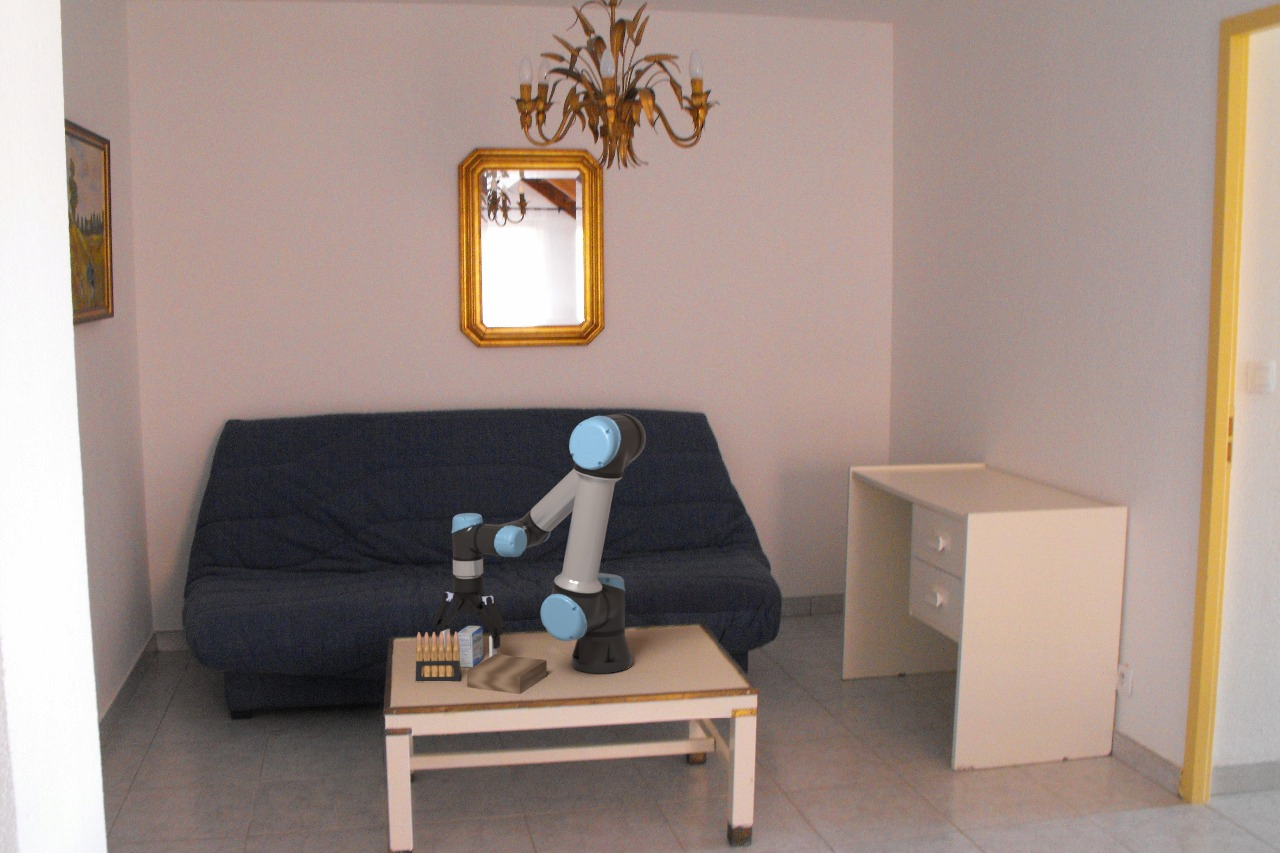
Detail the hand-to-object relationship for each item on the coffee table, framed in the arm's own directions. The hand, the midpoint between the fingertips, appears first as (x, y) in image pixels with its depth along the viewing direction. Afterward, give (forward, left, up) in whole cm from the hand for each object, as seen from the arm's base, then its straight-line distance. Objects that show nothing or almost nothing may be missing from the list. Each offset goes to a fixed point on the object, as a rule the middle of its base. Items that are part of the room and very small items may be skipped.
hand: (469, 658), depth 284 cm
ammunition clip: (0, +15, -2) cm, 15 cm away
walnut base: (-16, +10, -1) cm, 19 cm away
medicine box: (0, 0, -2) cm, 2 cm away
